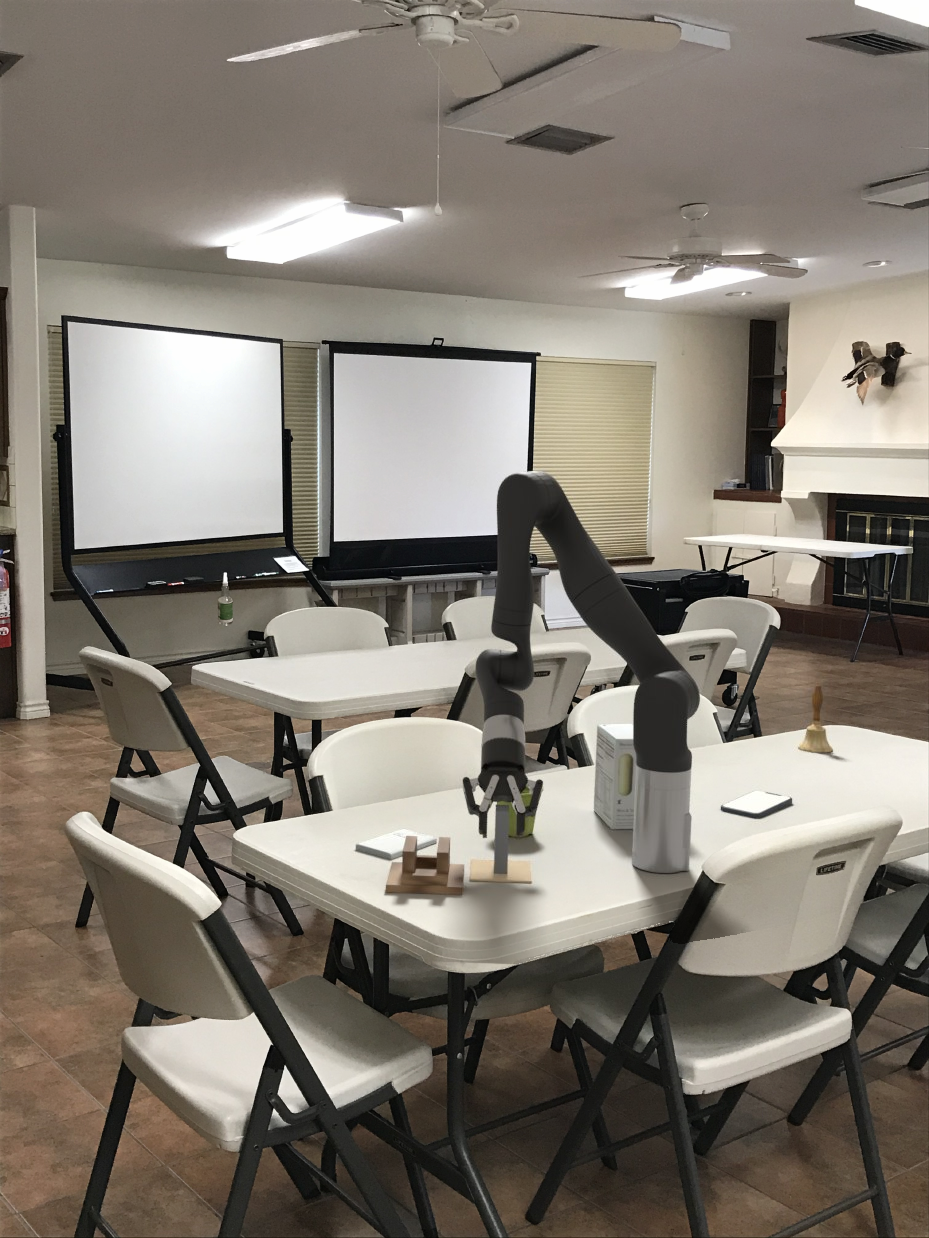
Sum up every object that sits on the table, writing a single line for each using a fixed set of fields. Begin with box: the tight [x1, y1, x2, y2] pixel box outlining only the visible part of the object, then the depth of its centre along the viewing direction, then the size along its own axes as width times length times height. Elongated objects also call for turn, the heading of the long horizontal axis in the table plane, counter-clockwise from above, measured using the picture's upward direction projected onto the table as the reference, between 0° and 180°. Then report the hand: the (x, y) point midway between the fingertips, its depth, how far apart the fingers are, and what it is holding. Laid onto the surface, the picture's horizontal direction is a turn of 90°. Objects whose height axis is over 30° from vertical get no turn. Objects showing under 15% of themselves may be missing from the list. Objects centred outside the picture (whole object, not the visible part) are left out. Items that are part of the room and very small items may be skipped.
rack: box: [385, 836, 465, 896], centre depth 191 cm, size 12×11×6 cm
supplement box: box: [593, 723, 636, 831], centre depth 228 cm, size 13×13×18 cm
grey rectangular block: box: [493, 804, 510, 874], centre depth 196 cm, size 2×4×10 cm, turn 179°
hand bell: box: [797, 684, 834, 754], centre depth 293 cm, size 8×8×16 cm
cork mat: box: [469, 858, 533, 884], centre depth 197 cm, size 10×10×1 cm
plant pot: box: [496, 787, 544, 838], centre depth 218 cm, size 9×9×9 cm
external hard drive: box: [355, 828, 438, 860], centre depth 209 cm, size 2×8×12 cm
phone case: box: [720, 790, 793, 819], centre depth 240 cm, size 9×2×16 cm
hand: (501, 835), depth 194 cm, fingers open, 5 cm apart
